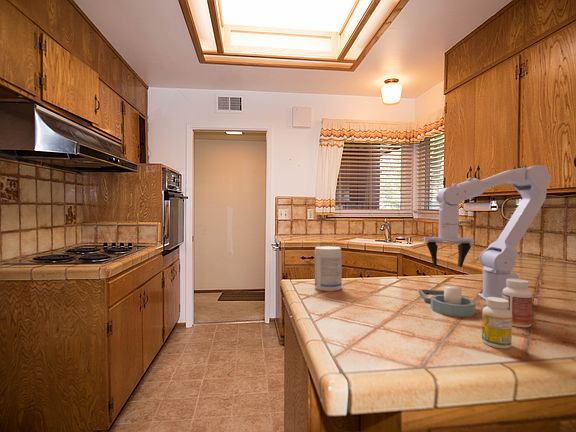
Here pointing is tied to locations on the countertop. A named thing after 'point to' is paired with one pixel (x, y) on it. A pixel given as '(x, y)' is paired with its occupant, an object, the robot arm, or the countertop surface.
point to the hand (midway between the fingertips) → (447, 265)
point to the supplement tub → (328, 268)
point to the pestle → (452, 294)
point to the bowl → (453, 307)
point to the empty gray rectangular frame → (430, 293)
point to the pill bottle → (519, 301)
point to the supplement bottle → (497, 323)
